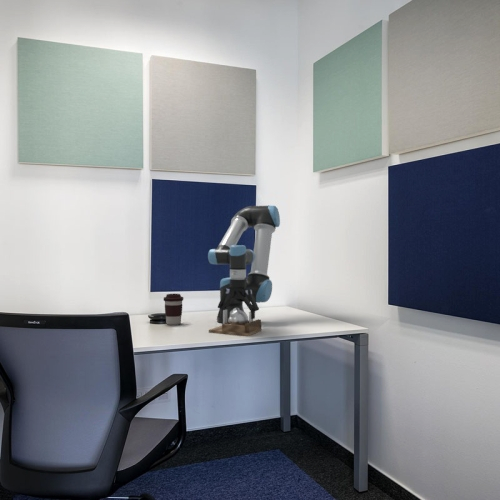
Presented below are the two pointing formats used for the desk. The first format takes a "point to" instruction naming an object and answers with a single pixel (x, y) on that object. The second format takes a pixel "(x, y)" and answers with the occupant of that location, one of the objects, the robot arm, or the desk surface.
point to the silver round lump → (238, 317)
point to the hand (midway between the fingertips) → (238, 324)
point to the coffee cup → (173, 308)
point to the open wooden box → (238, 328)
